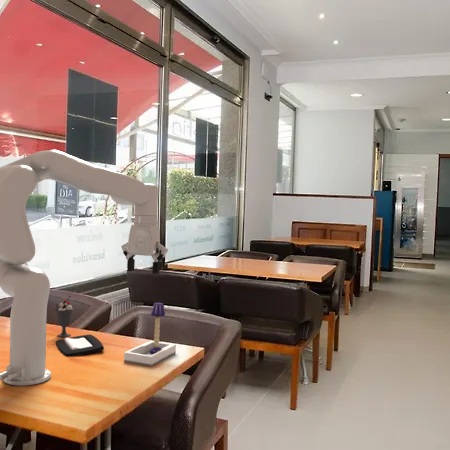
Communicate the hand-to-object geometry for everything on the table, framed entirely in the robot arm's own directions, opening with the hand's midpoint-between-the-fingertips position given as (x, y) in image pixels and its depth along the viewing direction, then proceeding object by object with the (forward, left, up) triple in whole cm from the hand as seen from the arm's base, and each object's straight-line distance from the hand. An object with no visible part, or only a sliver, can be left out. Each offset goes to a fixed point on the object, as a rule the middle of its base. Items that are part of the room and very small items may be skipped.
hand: (143, 272), depth 173 cm
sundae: (+7, +37, -28) cm, 47 cm away
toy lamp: (+3, -5, -27) cm, 28 cm away
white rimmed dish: (-1, -5, -28) cm, 28 cm away
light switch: (-3, +23, -28) cm, 36 cm away
